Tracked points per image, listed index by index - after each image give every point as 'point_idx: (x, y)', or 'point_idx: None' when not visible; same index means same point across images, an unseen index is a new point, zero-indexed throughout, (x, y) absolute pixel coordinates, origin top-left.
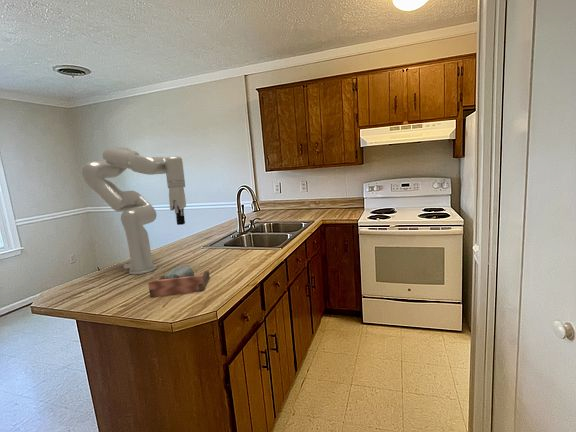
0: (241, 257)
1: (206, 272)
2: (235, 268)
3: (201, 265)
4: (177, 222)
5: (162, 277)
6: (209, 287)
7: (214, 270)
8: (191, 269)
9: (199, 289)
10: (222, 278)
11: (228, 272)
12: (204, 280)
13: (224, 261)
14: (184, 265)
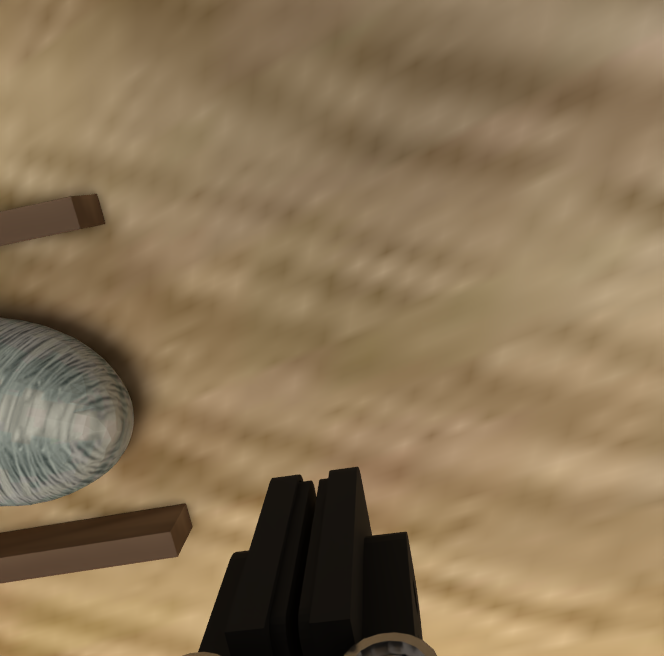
0: (644, 641)
1: (144, 550)
2: None
3: (497, 361)
4: (267, 517)
5: (42, 224)
6: None
7: None
8: (38, 502)
9: None
10: (169, 615)
11: None
12: (2, 580)
13: (565, 530)
14: (11, 468)
